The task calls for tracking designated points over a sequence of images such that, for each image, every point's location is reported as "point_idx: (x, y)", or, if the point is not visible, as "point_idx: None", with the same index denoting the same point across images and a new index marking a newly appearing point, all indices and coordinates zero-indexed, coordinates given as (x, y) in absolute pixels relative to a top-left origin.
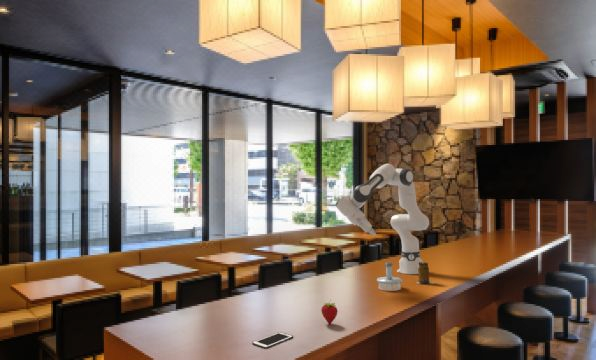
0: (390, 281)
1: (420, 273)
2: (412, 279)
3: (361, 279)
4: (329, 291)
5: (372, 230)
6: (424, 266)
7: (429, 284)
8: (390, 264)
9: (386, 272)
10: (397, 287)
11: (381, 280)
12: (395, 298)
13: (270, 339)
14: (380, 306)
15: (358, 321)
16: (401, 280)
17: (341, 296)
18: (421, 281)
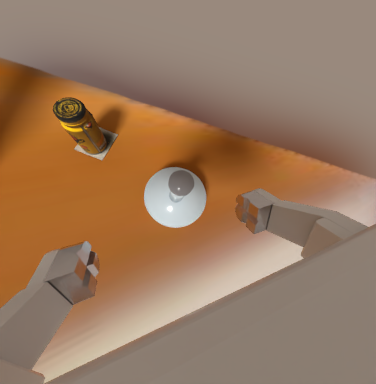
0: (198, 186)
1: (96, 135)
2: (56, 173)
3: (90, 312)
4: None
5: (21, 334)
6: (87, 111)
7: (110, 133)
8: (190, 175)
9: (183, 196)
10: None
11: (196, 209)
12: (242, 171)
13: None
14: (293, 181)
15: (358, 188)
16: (177, 167)
17: (280, 269)
18: (104, 145)
